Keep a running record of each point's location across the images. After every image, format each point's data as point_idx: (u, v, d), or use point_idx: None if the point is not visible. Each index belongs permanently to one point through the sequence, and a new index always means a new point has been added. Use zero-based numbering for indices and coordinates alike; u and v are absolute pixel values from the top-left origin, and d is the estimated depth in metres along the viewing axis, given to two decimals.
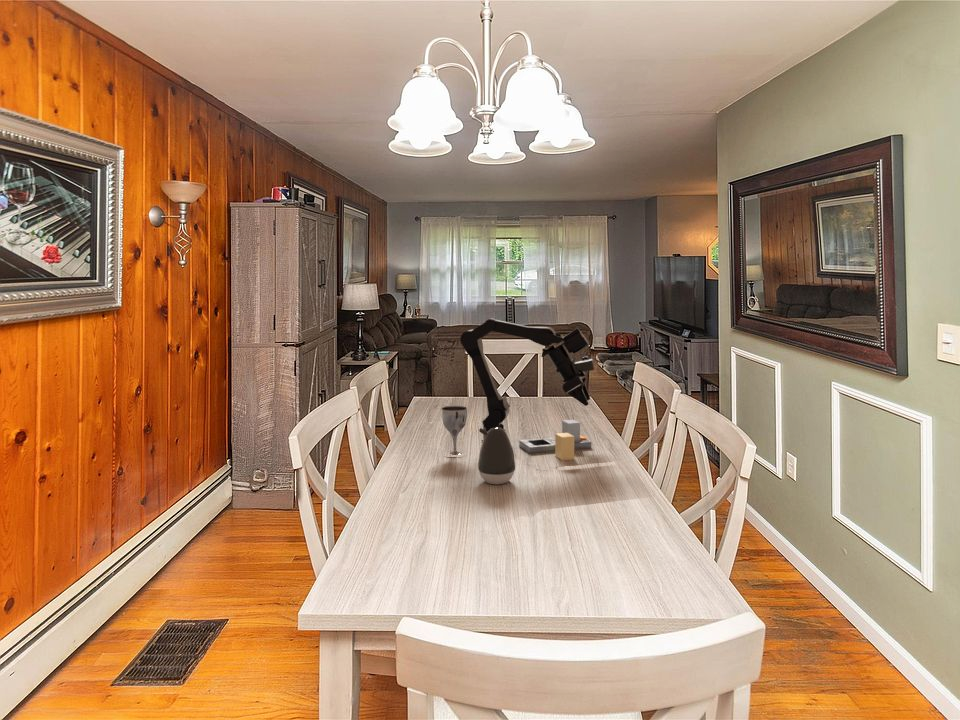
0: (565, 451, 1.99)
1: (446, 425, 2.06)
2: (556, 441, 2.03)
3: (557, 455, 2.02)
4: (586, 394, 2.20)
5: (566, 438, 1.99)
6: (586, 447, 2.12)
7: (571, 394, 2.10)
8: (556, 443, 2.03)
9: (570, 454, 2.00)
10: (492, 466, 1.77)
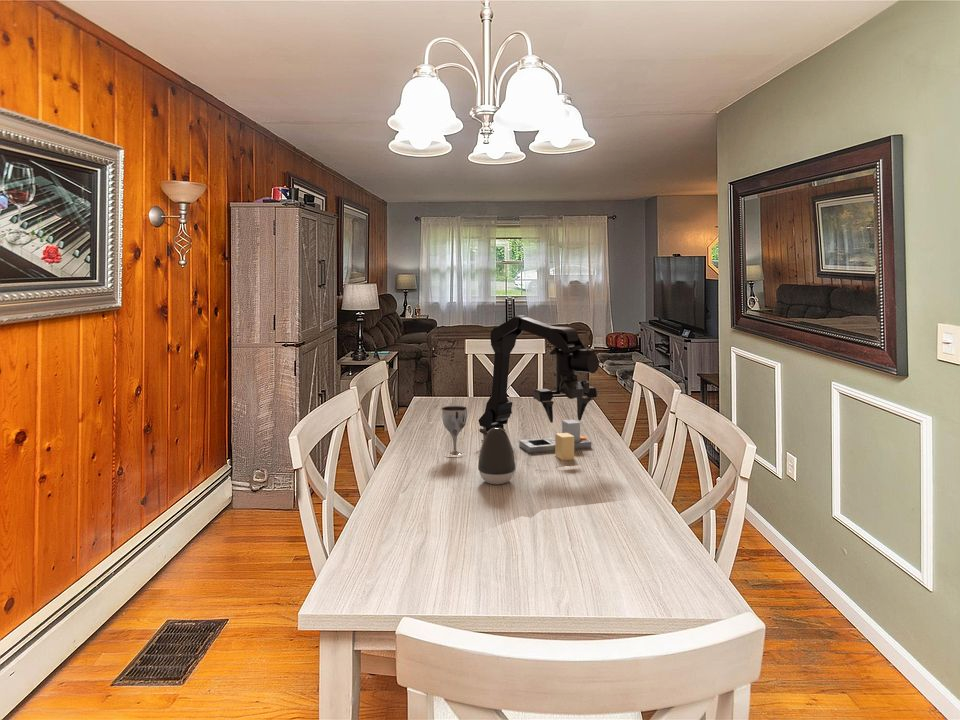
0: (565, 451, 1.99)
1: (446, 425, 2.06)
2: (556, 441, 2.03)
3: (557, 455, 2.02)
4: (579, 414, 2.02)
5: (566, 438, 1.99)
6: (586, 447, 2.12)
7: (542, 403, 2.00)
8: (556, 443, 2.03)
9: (570, 454, 2.00)
10: (492, 466, 1.77)
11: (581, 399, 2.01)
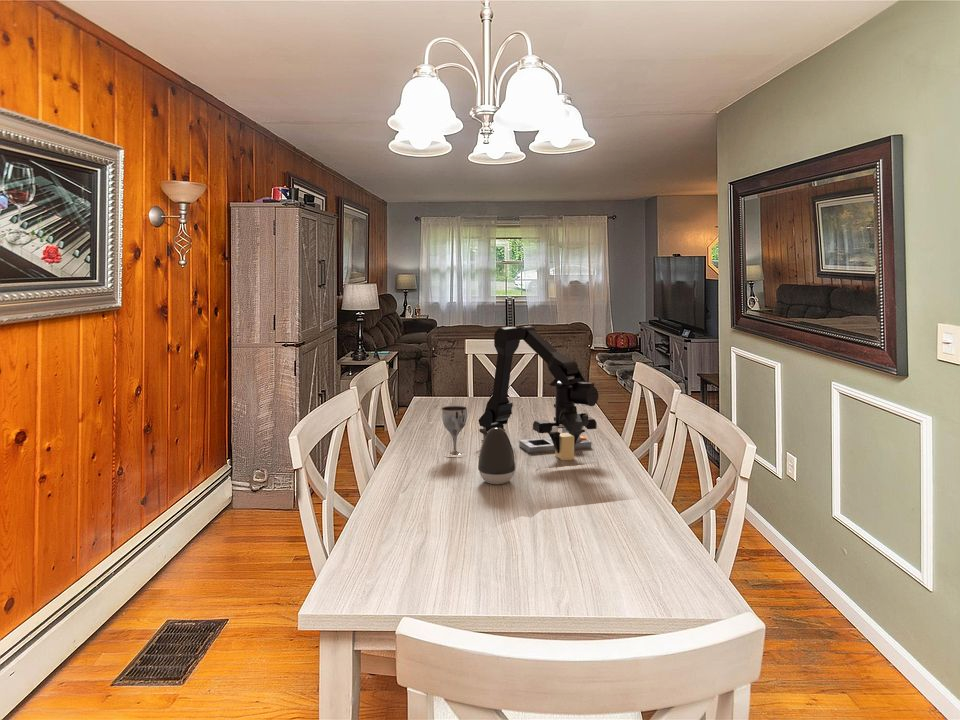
0: (565, 451, 1.99)
1: (446, 425, 2.06)
2: None
3: (557, 455, 2.02)
4: None
5: (566, 438, 1.99)
6: (586, 447, 2.12)
7: (549, 433, 2.02)
8: None
9: (570, 454, 2.00)
10: (492, 466, 1.77)
11: (573, 431, 2.01)
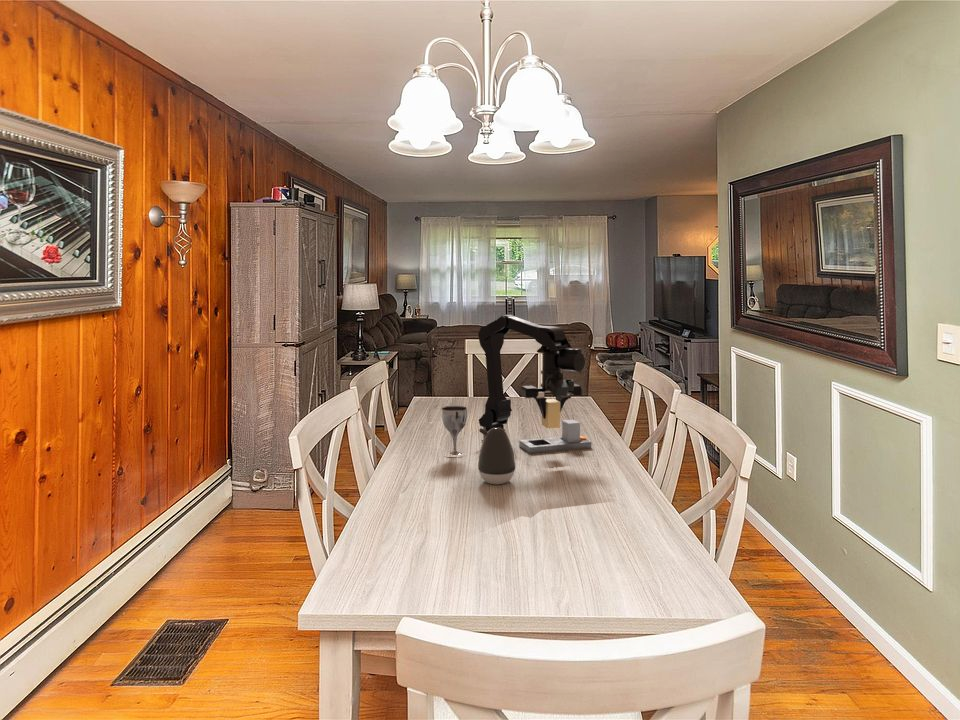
0: (551, 416, 2.03)
1: (446, 425, 2.06)
2: None
3: (543, 420, 2.06)
4: None
5: (552, 403, 2.03)
6: (586, 447, 2.12)
7: (536, 399, 2.06)
8: None
9: (556, 420, 2.04)
10: (492, 466, 1.77)
11: (559, 397, 2.06)
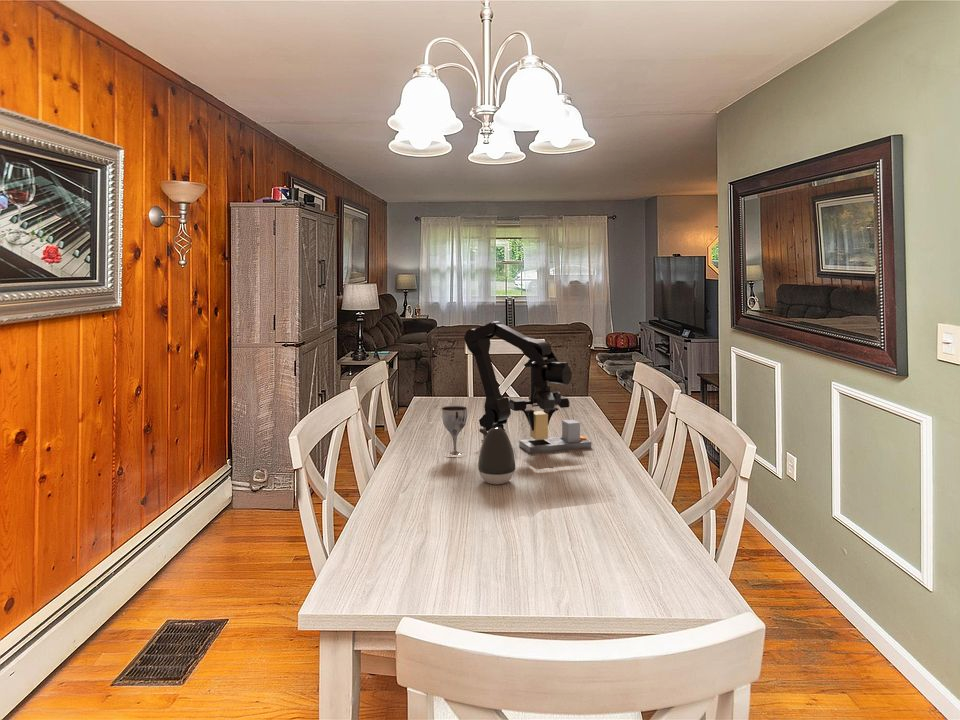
0: (539, 428, 2.09)
1: (446, 425, 2.06)
2: None
3: (532, 432, 2.12)
4: None
5: (540, 416, 2.09)
6: (586, 447, 2.12)
7: (524, 411, 2.12)
8: None
9: (544, 431, 2.10)
10: (492, 466, 1.77)
11: (547, 409, 2.11)
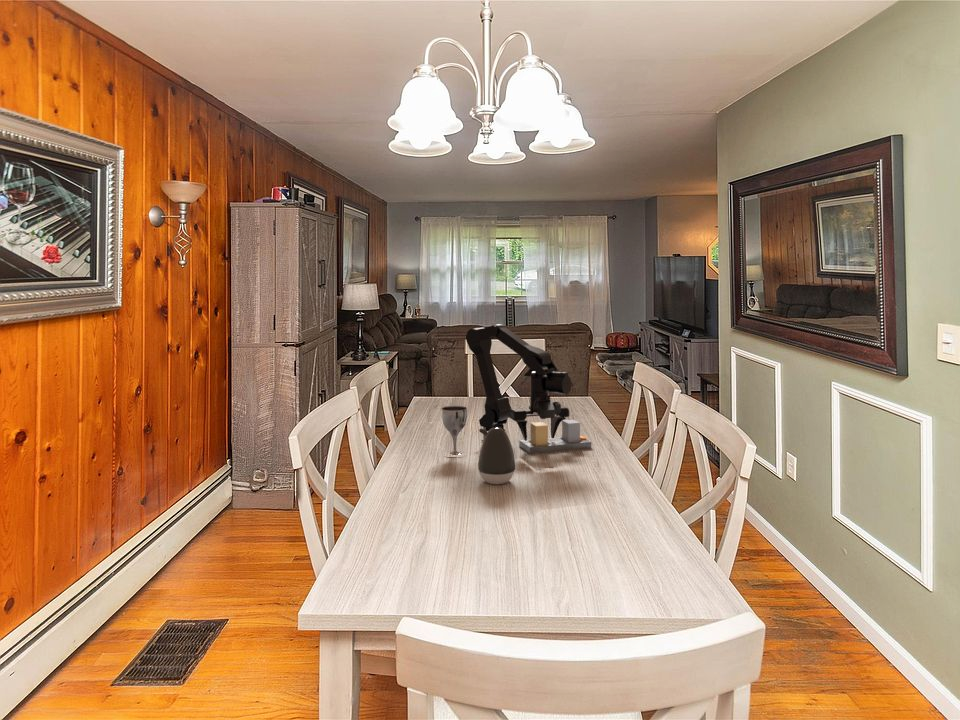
0: (539, 439, 2.10)
1: (446, 425, 2.06)
2: (531, 430, 2.13)
3: (532, 443, 2.13)
4: (552, 432, 2.13)
5: (540, 427, 2.09)
6: (586, 447, 2.12)
7: (517, 422, 2.12)
8: (531, 432, 2.13)
9: (544, 442, 2.10)
10: (492, 466, 1.77)
11: (554, 418, 2.12)
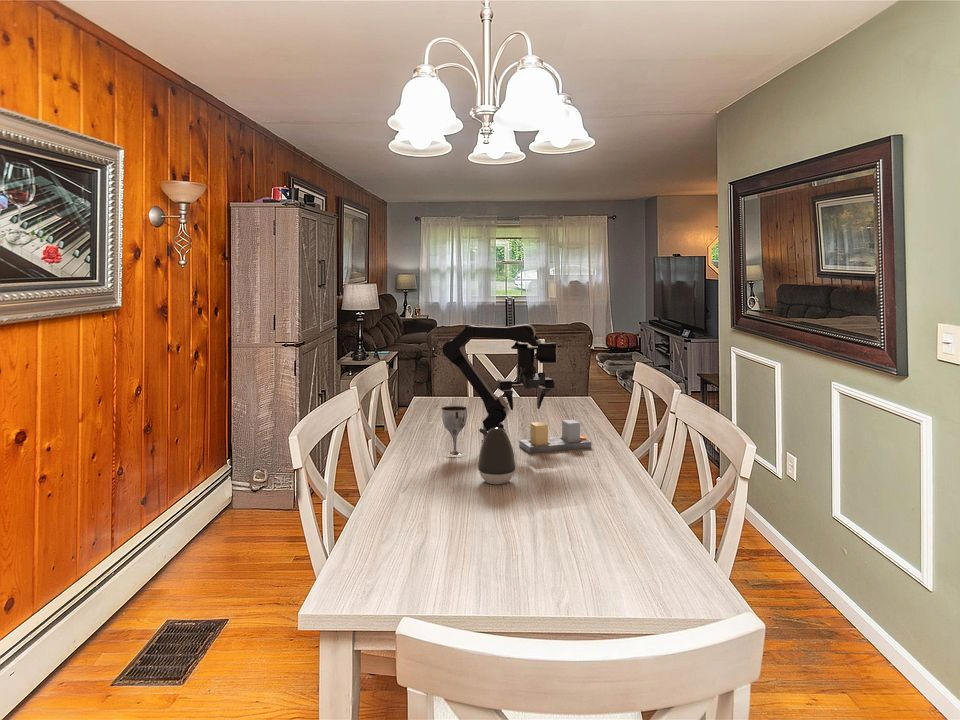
0: (539, 439, 2.10)
1: (446, 425, 2.06)
2: (531, 430, 2.13)
3: (532, 443, 2.13)
4: (538, 403, 2.21)
5: (540, 427, 2.09)
6: (586, 447, 2.12)
7: (504, 392, 2.20)
8: (531, 432, 2.13)
9: (544, 442, 2.10)
10: (492, 466, 1.77)
11: (540, 389, 2.20)
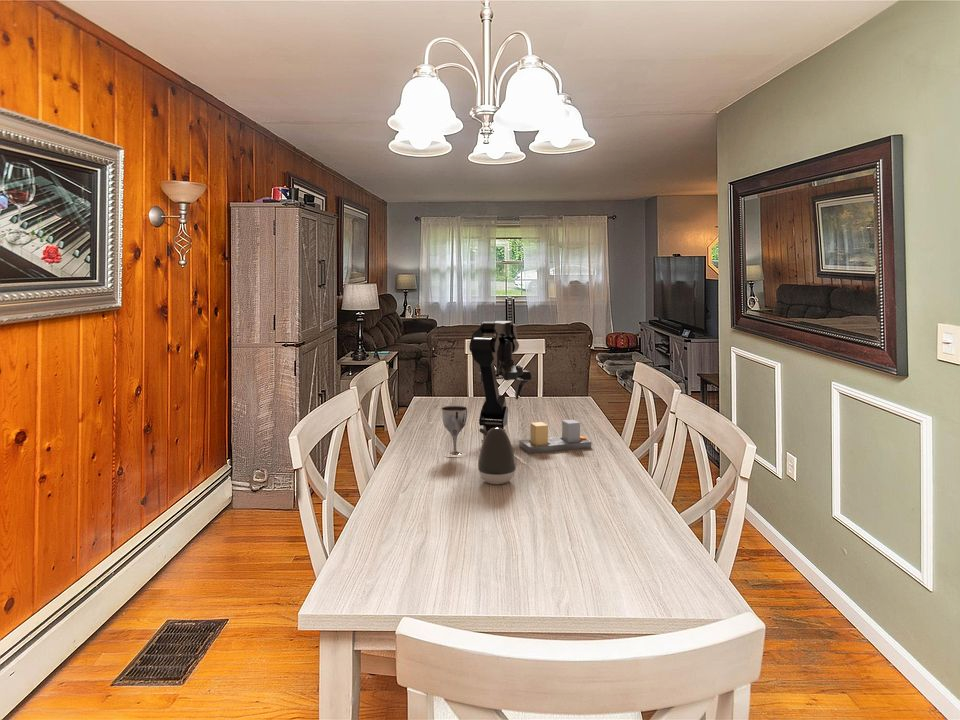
0: (539, 439, 2.10)
1: (446, 425, 2.06)
2: (531, 430, 2.13)
3: (532, 443, 2.13)
4: (516, 394, 2.37)
5: (540, 427, 2.09)
6: (586, 447, 2.12)
7: None
8: (531, 432, 2.13)
9: (544, 442, 2.10)
10: (492, 466, 1.77)
11: (518, 381, 2.36)
